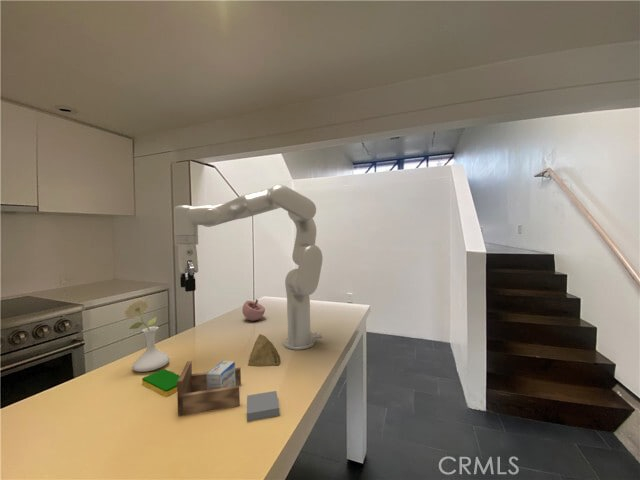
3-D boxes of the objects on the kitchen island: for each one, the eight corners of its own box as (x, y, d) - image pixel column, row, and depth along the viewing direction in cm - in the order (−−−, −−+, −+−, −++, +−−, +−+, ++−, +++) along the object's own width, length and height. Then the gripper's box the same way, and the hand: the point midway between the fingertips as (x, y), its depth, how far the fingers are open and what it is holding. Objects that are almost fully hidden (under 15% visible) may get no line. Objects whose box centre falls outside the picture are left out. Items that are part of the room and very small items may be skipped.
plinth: (276, 397, 78) (276, 390, 78) (279, 415, 70) (279, 407, 70) (247, 402, 76) (247, 395, 76) (247, 421, 68) (246, 413, 68)
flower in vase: (164, 357, 106) (162, 292, 105) (174, 366, 98) (171, 296, 97) (123, 369, 97) (120, 298, 96) (130, 381, 89) (127, 304, 88)
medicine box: (221, 406, 74) (220, 374, 74) (206, 404, 75) (206, 373, 75) (236, 389, 82) (235, 361, 82) (222, 388, 83) (221, 360, 83)
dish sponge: (164, 375, 93) (164, 368, 93) (189, 386, 85) (188, 378, 85) (141, 385, 87) (141, 377, 87) (166, 398, 79) (165, 390, 79)
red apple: (262, 323, 144) (262, 301, 144) (239, 324, 144) (239, 302, 144) (267, 316, 156) (266, 296, 156) (246, 317, 156) (245, 297, 156)
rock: (288, 354, 101) (269, 344, 107) (279, 341, 96) (260, 331, 102) (269, 381, 94) (250, 369, 100) (259, 368, 90) (240, 357, 95)
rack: (240, 383, 86) (240, 354, 86) (239, 405, 74) (238, 372, 74) (188, 391, 82) (187, 361, 82) (178, 416, 71) (176, 381, 70)
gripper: (203, 240, 92) (204, 291, 93) (193, 240, 106) (194, 284, 107) (178, 241, 88) (179, 294, 88) (171, 240, 102) (172, 286, 102)
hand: (187, 288), depth 97 cm, fingers open, 9 cm apart
